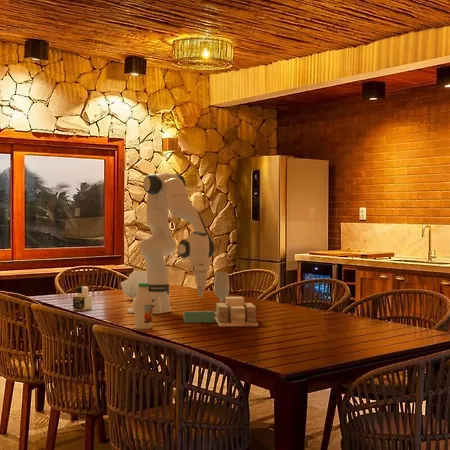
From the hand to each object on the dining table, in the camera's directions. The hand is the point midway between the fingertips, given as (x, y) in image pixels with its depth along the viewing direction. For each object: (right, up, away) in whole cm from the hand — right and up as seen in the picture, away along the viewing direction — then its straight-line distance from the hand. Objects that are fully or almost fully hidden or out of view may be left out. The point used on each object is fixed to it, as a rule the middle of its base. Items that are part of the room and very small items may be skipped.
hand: (200, 296), depth 315 cm
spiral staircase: (-35, -11, +73) cm, 82 cm away
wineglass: (+10, -12, +25) cm, 29 cm away
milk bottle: (-25, -13, -17) cm, 33 cm away
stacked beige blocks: (+17, -12, +1) cm, 21 cm away
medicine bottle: (-63, -11, +38) cm, 74 cm away
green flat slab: (-1, -12, +6) cm, 14 cm away
